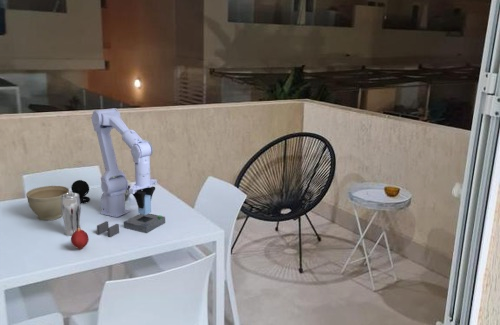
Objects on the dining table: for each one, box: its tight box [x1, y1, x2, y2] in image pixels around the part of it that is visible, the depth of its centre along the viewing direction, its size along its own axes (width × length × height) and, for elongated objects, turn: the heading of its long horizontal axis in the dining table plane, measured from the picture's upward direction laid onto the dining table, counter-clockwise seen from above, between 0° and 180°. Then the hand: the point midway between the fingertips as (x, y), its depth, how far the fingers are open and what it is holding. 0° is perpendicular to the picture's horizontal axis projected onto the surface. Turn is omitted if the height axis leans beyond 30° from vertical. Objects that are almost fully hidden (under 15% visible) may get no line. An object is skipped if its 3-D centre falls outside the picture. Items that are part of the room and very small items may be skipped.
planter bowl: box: [25, 185, 70, 221], centre depth 194 cm, size 16×16×11 cm
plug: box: [137, 194, 152, 215], centre depth 185 cm, size 4×4×7 cm
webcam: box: [70, 179, 91, 204], centre depth 213 cm, size 8×8×10 cm
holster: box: [96, 221, 120, 238], centre depth 179 cm, size 6×5×4 cm
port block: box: [123, 213, 166, 234], centre depth 187 cm, size 11×12×3 cm
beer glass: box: [60, 192, 82, 237], centre depth 177 cm, size 7×7×15 cm
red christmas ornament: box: [70, 227, 90, 250], centre depth 165 cm, size 6×6×8 cm
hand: (144, 206), depth 186 cm, fingers closed on plug, 3 cm apart
